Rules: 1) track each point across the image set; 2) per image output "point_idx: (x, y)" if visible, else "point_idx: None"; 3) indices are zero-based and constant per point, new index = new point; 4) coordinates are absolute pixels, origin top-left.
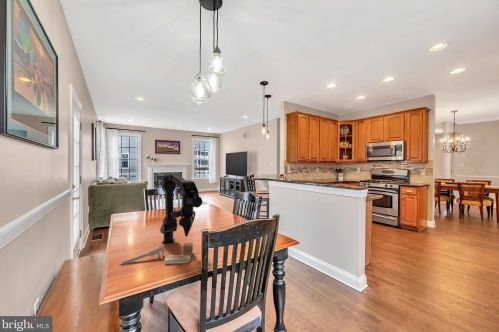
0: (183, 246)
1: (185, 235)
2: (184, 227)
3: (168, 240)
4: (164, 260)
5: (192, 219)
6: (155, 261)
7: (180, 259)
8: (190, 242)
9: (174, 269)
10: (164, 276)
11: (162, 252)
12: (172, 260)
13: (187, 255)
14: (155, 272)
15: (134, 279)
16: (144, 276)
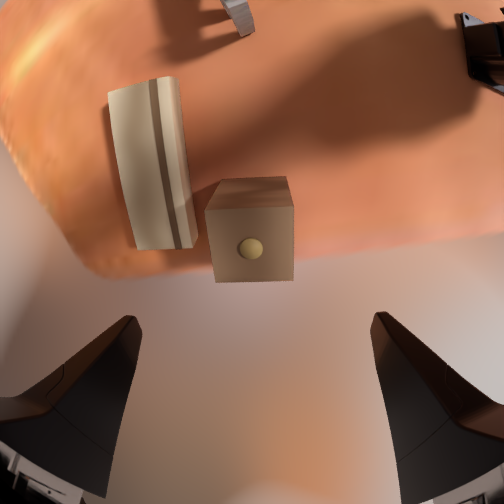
0: (206, 213)
1: (120, 321)
2: (40, 406)
3: (475, 48)
4: (109, 92)
5: (409, 481)
6: (160, 19)
7: (125, 196)
8: (288, 264)
9: (75, 179)
10: (30, 159)
11: (233, 20)
12: (117, 144)
13: (174, 231)
14: (49, 97)
15: (17, 51)
16: (28, 72)
